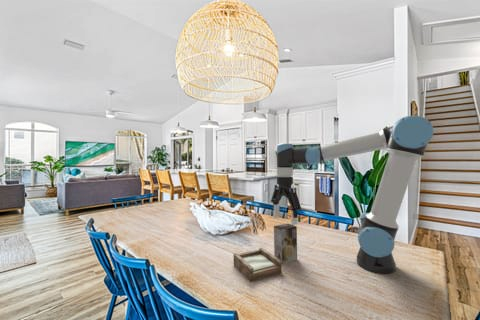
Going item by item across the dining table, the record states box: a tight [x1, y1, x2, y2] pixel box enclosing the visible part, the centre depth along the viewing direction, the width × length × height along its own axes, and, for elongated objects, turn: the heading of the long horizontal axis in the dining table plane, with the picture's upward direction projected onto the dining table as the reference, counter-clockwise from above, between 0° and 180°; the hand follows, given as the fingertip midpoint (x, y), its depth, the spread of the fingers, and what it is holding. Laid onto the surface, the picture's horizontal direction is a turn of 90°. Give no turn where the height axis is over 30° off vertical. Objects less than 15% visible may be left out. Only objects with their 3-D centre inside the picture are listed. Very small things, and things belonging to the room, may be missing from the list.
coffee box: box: [273, 223, 298, 265], centre depth 111 cm, size 9×6×16 cm
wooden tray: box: [233, 247, 283, 283], centre depth 102 cm, size 16×15×5 cm
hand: (284, 220), depth 111 cm, fingers open, 13 cm apart
